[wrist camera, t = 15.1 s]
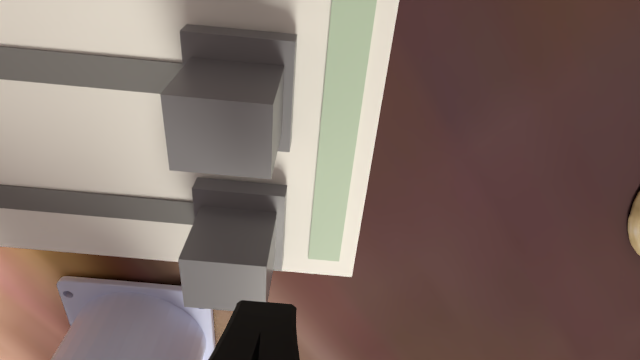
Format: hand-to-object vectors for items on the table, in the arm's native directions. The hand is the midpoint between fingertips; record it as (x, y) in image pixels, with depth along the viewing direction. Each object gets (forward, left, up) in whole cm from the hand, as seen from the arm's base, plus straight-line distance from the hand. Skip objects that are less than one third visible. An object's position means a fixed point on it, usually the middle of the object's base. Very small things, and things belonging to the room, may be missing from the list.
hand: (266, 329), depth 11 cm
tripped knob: (+3, +2, -8) cm, 8 cm away
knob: (-3, +2, -8) cm, 9 cm away
